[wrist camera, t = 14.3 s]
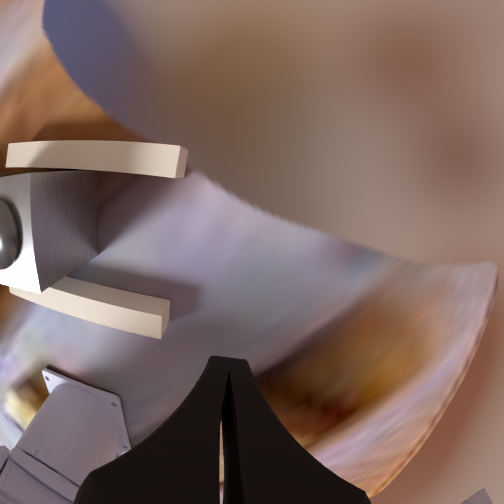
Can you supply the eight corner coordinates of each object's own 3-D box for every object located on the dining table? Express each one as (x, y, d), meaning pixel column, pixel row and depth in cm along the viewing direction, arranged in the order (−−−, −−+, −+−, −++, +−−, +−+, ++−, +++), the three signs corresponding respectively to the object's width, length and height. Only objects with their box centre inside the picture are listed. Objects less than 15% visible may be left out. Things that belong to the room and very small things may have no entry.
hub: (99, 254, 15) (36, 296, 8) (42, 249, 14) (-21, 281, 8) (98, 170, 13) (25, 173, 7) (39, 175, 13) (-30, 182, 7)
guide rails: (169, 321, 16) (160, 339, 14) (25, 282, 15) (10, 292, 13) (188, 150, 13) (180, 145, 11) (27, 144, 12) (8, 143, 10)
